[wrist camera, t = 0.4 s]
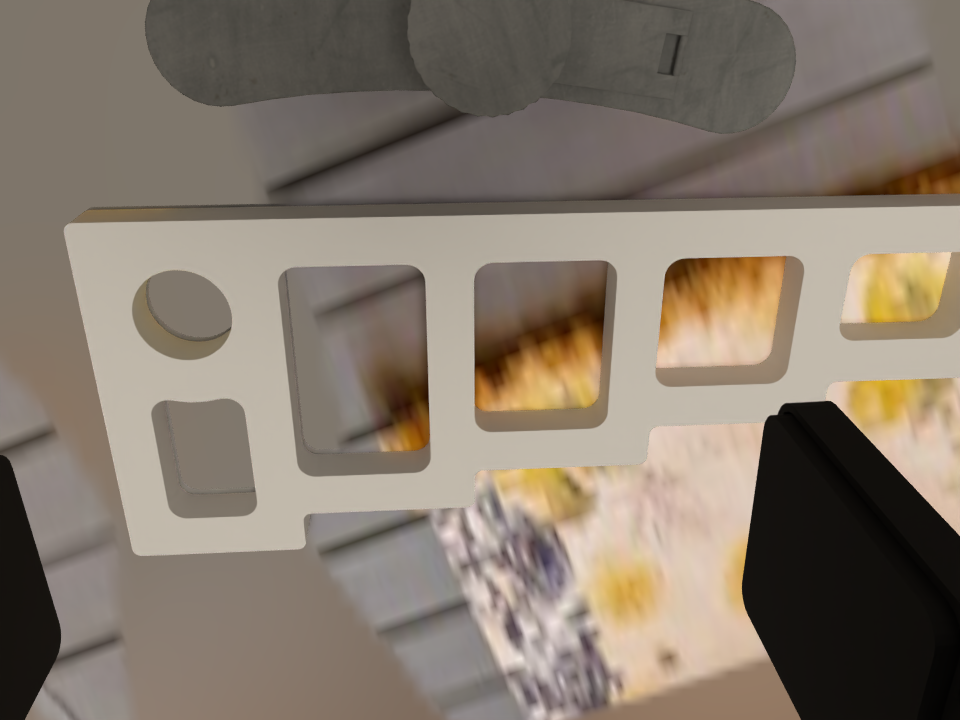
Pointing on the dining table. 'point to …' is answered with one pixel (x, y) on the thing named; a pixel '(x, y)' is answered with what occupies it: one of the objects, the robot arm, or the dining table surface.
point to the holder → (467, 340)
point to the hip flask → (485, 53)
